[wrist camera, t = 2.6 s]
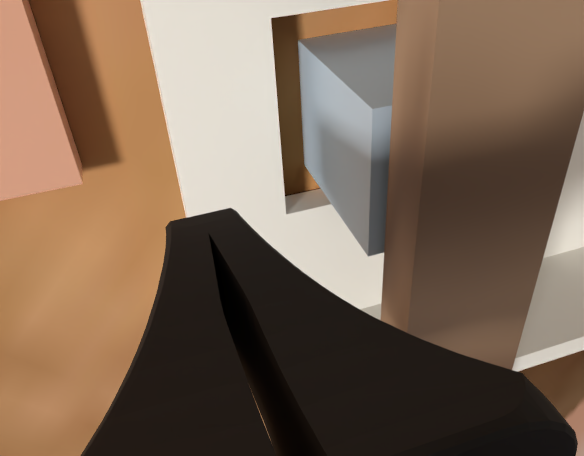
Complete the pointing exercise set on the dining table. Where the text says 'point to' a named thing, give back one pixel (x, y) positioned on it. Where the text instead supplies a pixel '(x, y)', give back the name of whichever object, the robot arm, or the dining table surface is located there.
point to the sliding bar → (477, 165)
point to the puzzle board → (314, 204)
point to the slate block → (350, 124)
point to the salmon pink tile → (31, 112)
